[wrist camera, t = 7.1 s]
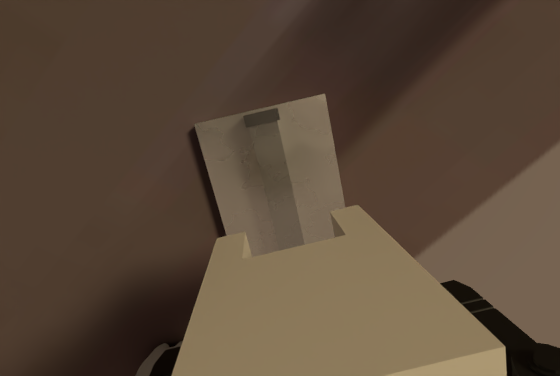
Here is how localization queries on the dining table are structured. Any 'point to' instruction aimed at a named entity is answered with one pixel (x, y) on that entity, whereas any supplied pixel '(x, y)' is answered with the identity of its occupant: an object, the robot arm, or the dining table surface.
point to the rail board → (274, 173)
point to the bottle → (153, 359)
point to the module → (331, 312)
